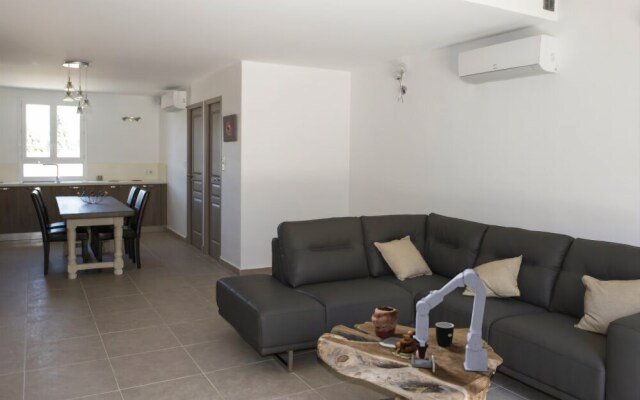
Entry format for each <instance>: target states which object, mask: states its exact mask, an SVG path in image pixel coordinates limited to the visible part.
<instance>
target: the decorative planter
mask: <svg viewBox="0 0 640 400" xmlns="http://www.w3.org/2000/svg"><path fill="white" fill-rule="evenodd" d="M399 317H400V311H399V310H398V309H395V308H393V307H390V306H378V307H376V308H375V309H374V313H373V314H372V316H371V322H372V324H373V325H374V334H375V335H376V336H378V337H380V338H391V337H394V335H395V333H396V328H397V325H398V322H399Z"/></svg>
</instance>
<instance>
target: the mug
mask: <svg viewBox="0 0 640 400" xmlns="http://www.w3.org/2000/svg"><path fill="white" fill-rule="evenodd" d="M454 331H455V325H454V324H453V323H450V322H446V321H441V322H440V321H439V322H436V323H435V338H436V339H435V340H436V343H437V345H438V346H439V347H446V348H447V347H451V345H452V344H453V343H452V342H453V339H454V333H455V332H454Z"/></svg>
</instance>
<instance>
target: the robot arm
mask: <svg viewBox="0 0 640 400" xmlns="http://www.w3.org/2000/svg"><path fill="white" fill-rule="evenodd" d="M465 286H466V287H468V288H469V289H472V291H473V292H474V298H473V299H474V300H473V305H472V306H473V307H472V315H471V321H470V322H471V323H470V325H469V326H470V327H469V331H468V332H467V333H466V340H467V344H466V345H465V359H464V362H463V367H464V369H465V371H471V372H488V361H489V359H488V355H489V354H488V349H487V348H483V345H484V344H483V340H482V333H483V332H482V328H483V320H484V314H485V306H486V299H487V288H486V286H485V284H484V282H483V280H482V278H481V276H480V275H479V274H478V273H477V272H476V271H475V269H472V268H467V269H464V270H463V272H460V273H459V274H457V275H455V276H454V278H452V279H451V280H450V281H448V282H447V283H446V284H445V285H444V286H443V287H441V288H440V289H439V290H436V289H435V290H430V291H429V294H427V296H425V297H422V298H421V299H420V300H418V301H417V302H416V305H415V307H416V308H415V311H416V313H415V314H416V316H415V331H416V336H413V338H415V340H416V342H417V343H416V346H417V349H418V353H419V359H424V358H425V353H426V352H427V350H428V348H429V344H428V341H429V340H430V337H429V326H430V325H429V323H430V321H429V320H430V318H429V314H430V310H432V309H434V308H435V307H437V305H439V304H440V303H441V302H443V301H444V297H445V296H446V295H448V294H449V293H451V292H452V291H454V290H455V289H457V288H458V287H459V288H465Z"/></svg>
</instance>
